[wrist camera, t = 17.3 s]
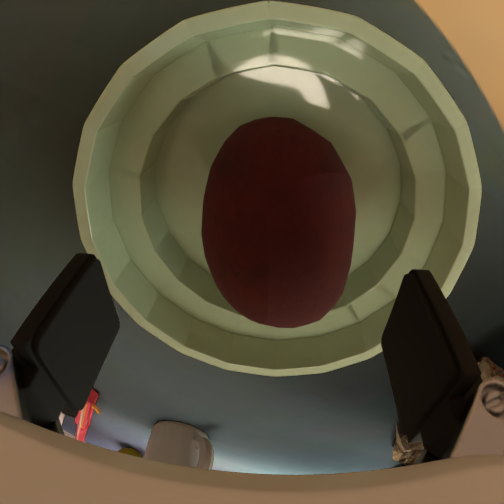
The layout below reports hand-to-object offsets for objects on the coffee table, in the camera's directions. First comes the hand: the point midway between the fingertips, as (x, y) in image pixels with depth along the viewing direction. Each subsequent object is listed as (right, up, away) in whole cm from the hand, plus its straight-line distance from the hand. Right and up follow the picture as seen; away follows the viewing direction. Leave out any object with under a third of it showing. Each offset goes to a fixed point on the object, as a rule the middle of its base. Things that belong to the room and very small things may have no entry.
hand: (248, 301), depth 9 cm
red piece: (-26, -21, +27) cm, 43 cm away
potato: (-2, +2, +3) cm, 4 cm away
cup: (-7, -20, +24) cm, 32 cm away
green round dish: (+1, +5, +7) cm, 9 cm away
